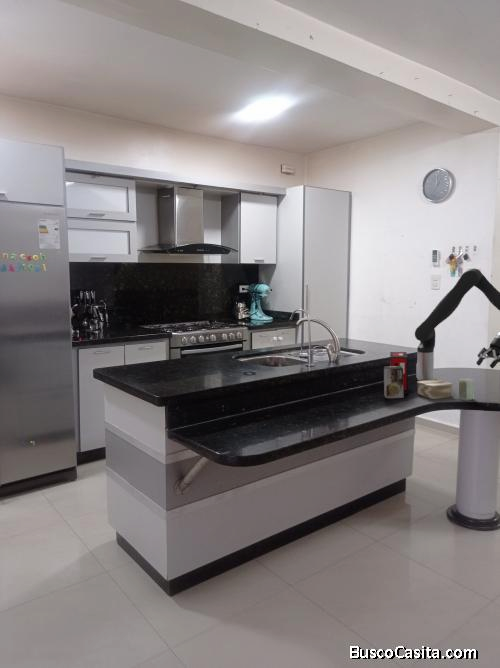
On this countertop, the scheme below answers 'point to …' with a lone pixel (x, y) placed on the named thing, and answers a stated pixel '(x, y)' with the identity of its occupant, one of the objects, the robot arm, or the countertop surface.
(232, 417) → the countertop surface
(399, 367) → the coffee box
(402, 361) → the cleaning product box
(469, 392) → the tea tin
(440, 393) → the birch block
